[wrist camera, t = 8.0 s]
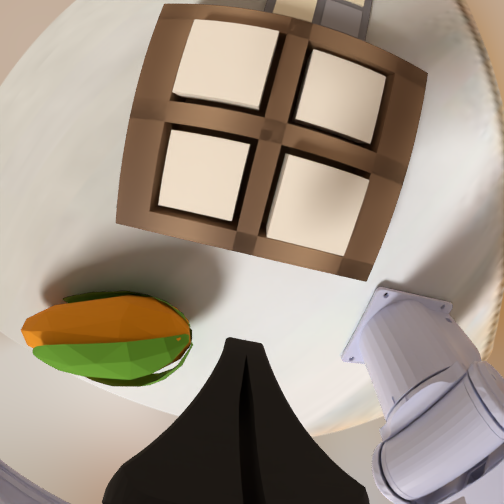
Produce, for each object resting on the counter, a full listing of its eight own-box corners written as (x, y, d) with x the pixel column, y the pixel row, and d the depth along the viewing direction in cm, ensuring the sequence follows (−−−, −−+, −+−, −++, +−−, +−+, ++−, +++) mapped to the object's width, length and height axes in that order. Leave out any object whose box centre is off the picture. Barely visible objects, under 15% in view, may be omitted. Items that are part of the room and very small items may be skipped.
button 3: (250, 144, 16) (249, 144, 14) (234, 212, 17) (231, 221, 16) (181, 130, 15) (171, 129, 14) (168, 197, 17) (158, 204, 15)
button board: (402, 81, 14) (427, 73, 11) (351, 259, 20) (366, 281, 16) (179, 23, 13) (164, 3, 10) (138, 209, 19) (115, 223, 15)
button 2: (373, 82, 14) (385, 76, 12) (358, 143, 15) (370, 143, 14) (307, 58, 13) (313, 49, 12) (291, 121, 15) (295, 118, 13)
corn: (195, 413, 16) (22, 384, 18) (212, 347, 23) (55, 346, 25) (157, 325, 14) (-13, 323, 16) (190, 270, 21) (30, 290, 23)
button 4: (277, 43, 12) (279, 31, 10) (258, 110, 14) (258, 106, 12) (201, 32, 12) (194, 19, 10) (182, 97, 14) (172, 91, 12)
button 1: (357, 175, 15) (369, 180, 13) (334, 243, 17) (343, 256, 15) (285, 153, 15) (289, 154, 13) (265, 225, 16) (266, 237, 14)
